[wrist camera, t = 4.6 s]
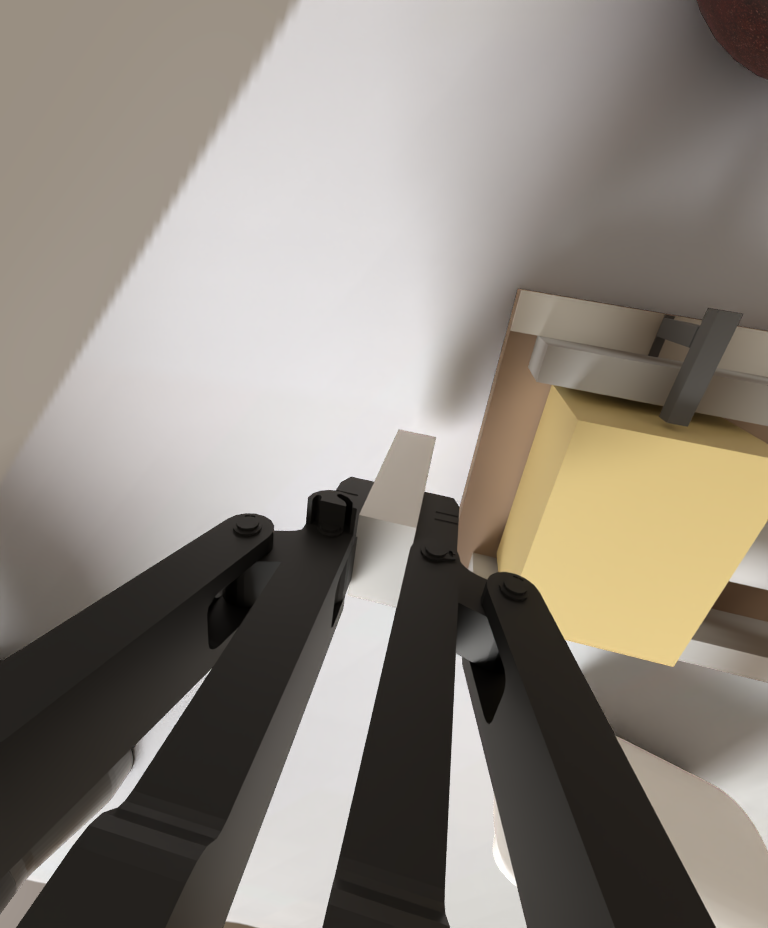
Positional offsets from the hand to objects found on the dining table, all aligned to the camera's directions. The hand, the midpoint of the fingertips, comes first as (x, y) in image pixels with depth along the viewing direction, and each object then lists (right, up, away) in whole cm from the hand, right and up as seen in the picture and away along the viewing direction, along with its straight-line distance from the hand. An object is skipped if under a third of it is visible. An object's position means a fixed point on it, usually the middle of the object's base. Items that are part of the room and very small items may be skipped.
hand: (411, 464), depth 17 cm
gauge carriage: (+9, 0, 0) cm, 9 cm away
